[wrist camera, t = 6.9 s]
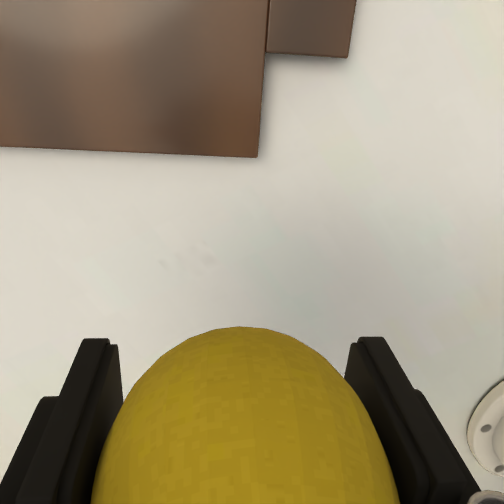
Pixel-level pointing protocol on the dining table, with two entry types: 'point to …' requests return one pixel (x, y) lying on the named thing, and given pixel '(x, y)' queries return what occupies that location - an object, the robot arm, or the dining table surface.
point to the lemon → (243, 429)
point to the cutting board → (152, 70)
